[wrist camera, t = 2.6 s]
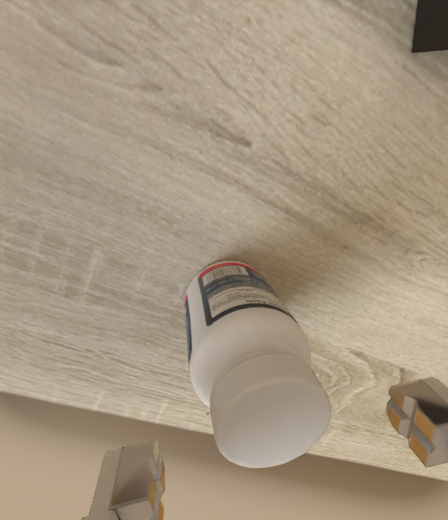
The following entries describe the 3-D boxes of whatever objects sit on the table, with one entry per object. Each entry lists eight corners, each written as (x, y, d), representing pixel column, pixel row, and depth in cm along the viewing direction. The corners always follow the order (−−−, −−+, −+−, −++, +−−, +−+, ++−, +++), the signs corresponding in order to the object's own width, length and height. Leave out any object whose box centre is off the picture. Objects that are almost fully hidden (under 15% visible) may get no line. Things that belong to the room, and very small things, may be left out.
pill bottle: (237, 343, 18) (288, 494, 10) (169, 313, 16) (162, 466, 8) (282, 281, 17) (380, 394, 9) (213, 242, 15) (255, 338, 7)
